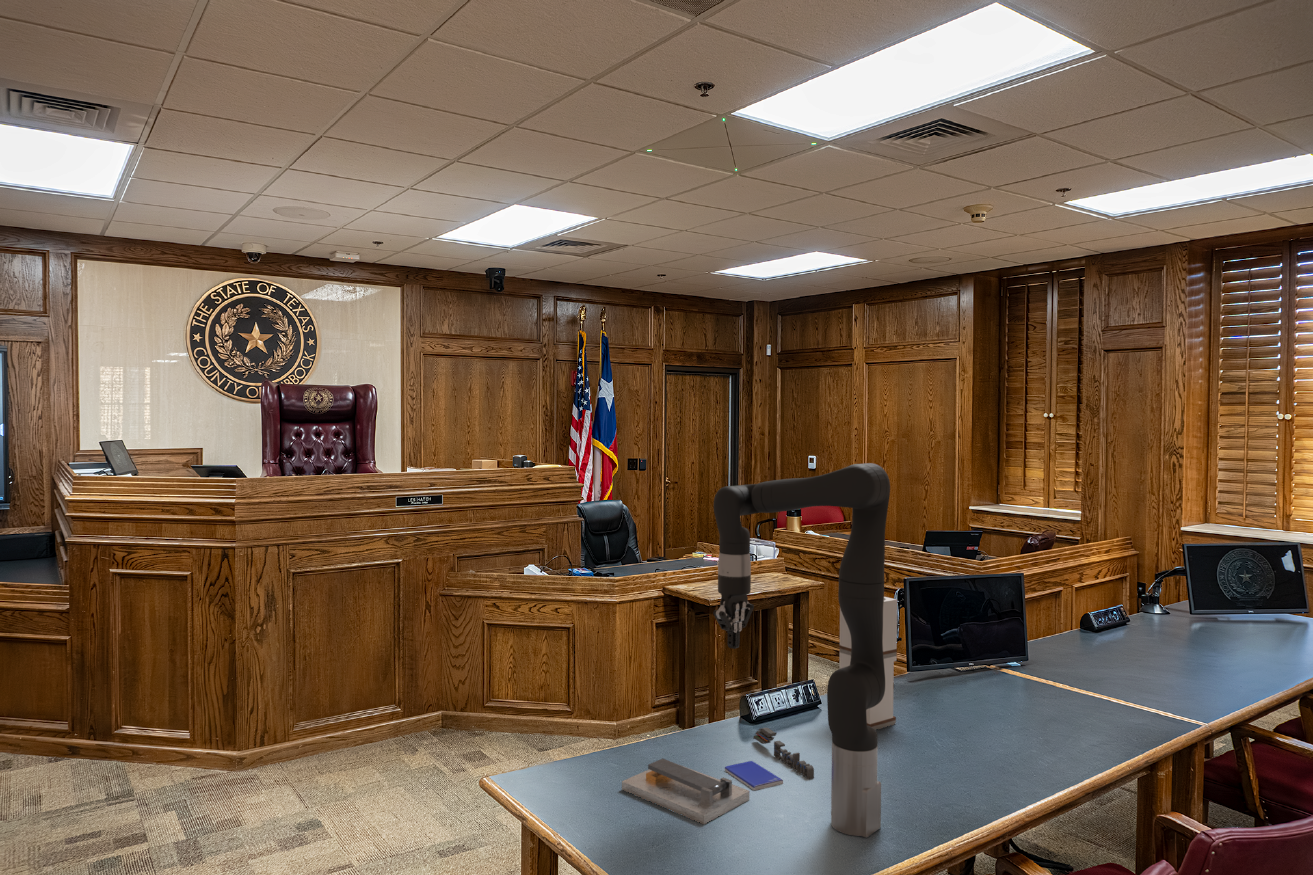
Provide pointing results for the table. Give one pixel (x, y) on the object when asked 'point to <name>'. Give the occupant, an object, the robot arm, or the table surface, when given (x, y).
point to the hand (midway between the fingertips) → (733, 647)
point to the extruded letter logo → (785, 753)
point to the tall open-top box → (884, 710)
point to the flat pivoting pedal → (686, 776)
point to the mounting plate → (685, 795)
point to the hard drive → (753, 775)
